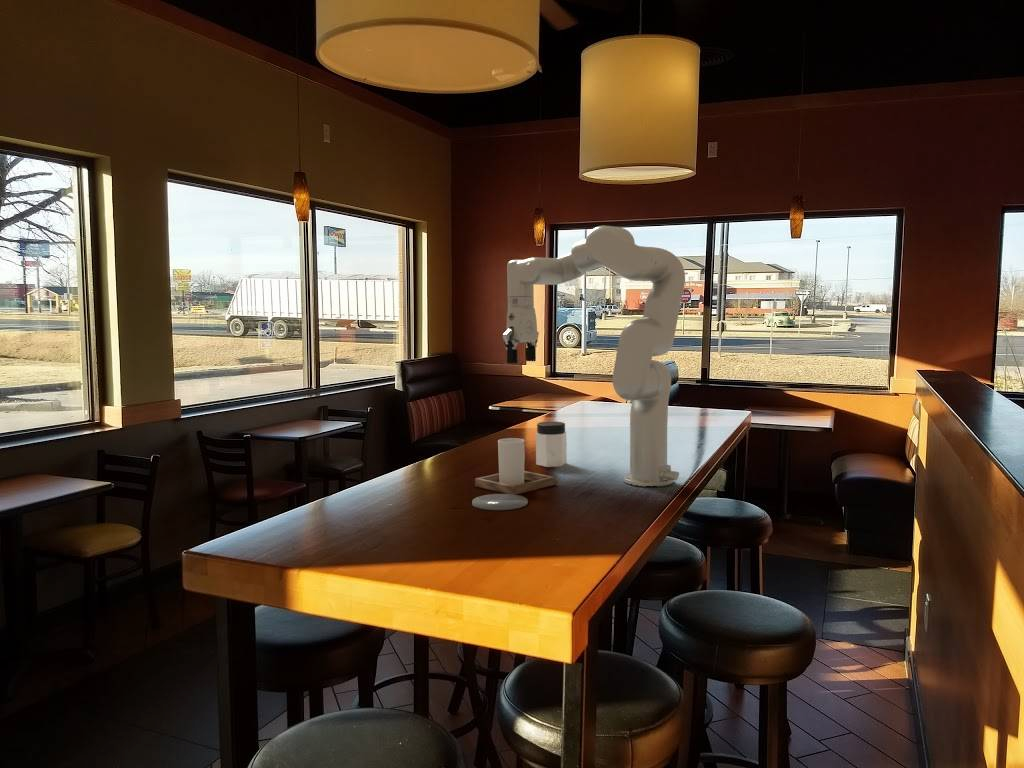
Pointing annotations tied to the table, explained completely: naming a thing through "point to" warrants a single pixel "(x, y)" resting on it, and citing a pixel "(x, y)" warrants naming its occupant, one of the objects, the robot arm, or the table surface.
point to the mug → (511, 461)
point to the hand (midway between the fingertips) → (521, 362)
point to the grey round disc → (499, 502)
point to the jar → (551, 444)
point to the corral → (536, 483)
